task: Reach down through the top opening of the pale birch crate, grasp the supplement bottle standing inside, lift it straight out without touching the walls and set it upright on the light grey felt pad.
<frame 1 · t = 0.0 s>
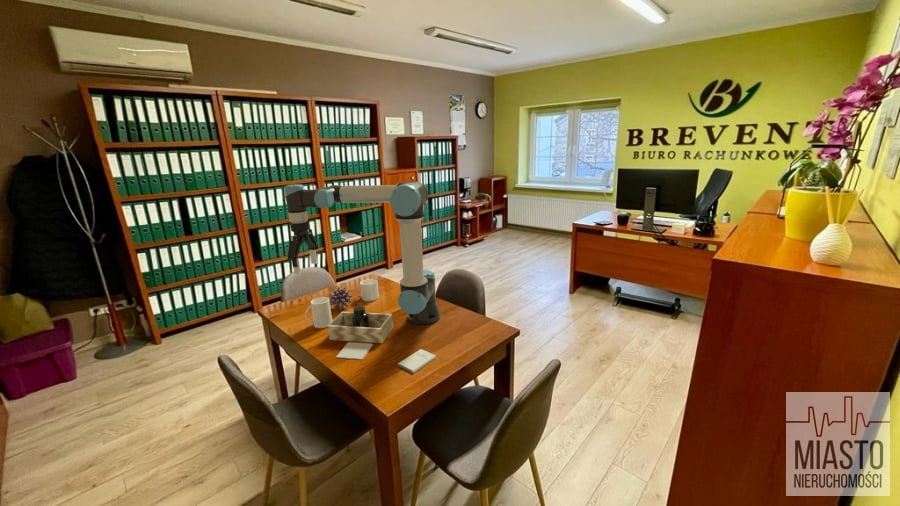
hand: (306, 268, 159), 28 cm above the table, fingers open, 13 cm apart
mug 2: (369, 297, 197), on the table
purple spiky ball: (341, 308, 184), on the table
external hard drive: (417, 363, 137), on the table
mug: (319, 325, 168), on the table
crate: (362, 333, 159), on the table
supplement bottle: (362, 333, 159), resting in crate
pad: (355, 350, 145), on the table
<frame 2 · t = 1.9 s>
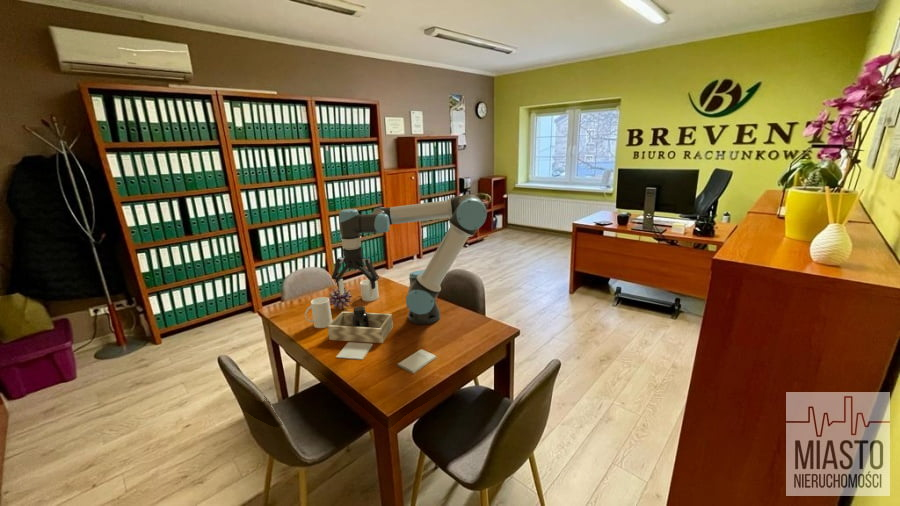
hand: (357, 294, 153), 18 cm above the table, fingers open, 13 cm apart
nothing on the table moved.
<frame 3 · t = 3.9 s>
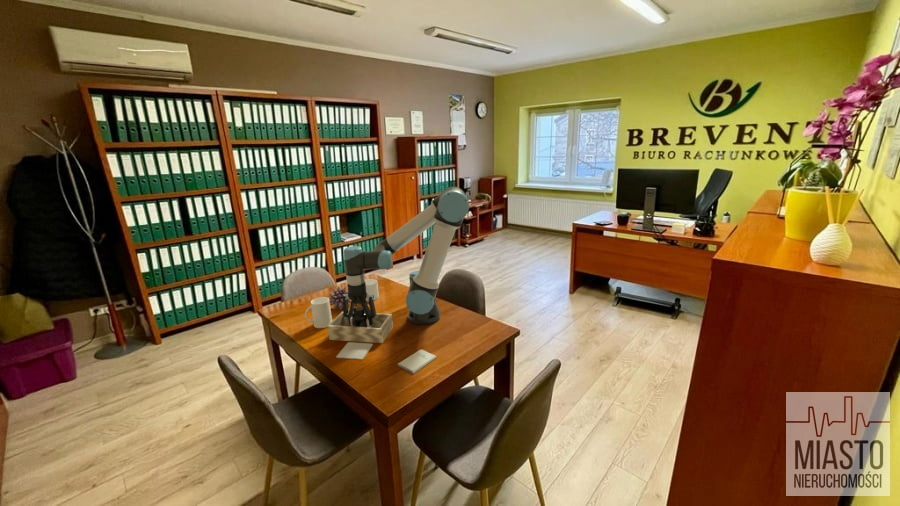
hand: (361, 331, 159), 1 cm above the table, fingers closed on supplement bottle, 7 cm apart
supplement bottle: (362, 333, 159), resting in crate, touching gripper
everything else where it was.
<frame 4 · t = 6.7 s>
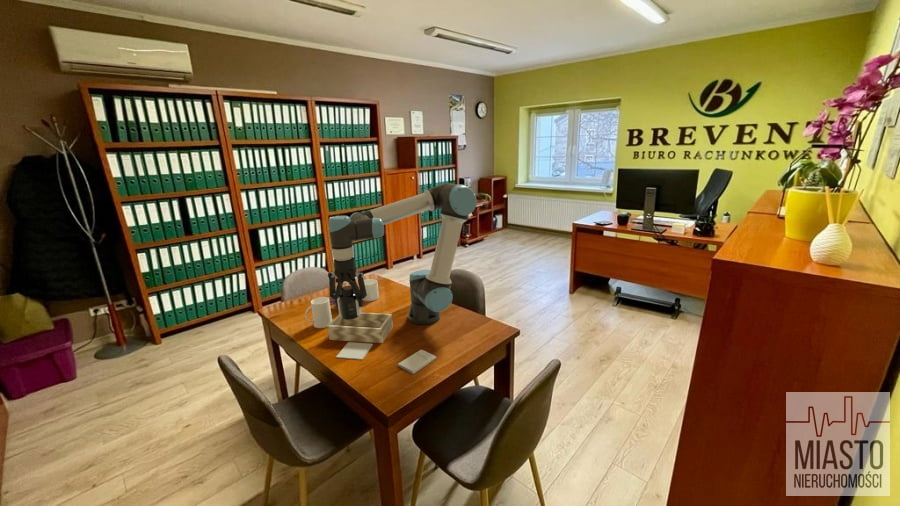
hand: (350, 313, 140), 17 cm above the table, fingers closed on supplement bottle, 7 cm apart
supplement bottle: (350, 316, 141), point 15 cm above the table, touching gripper
everything else where it was.
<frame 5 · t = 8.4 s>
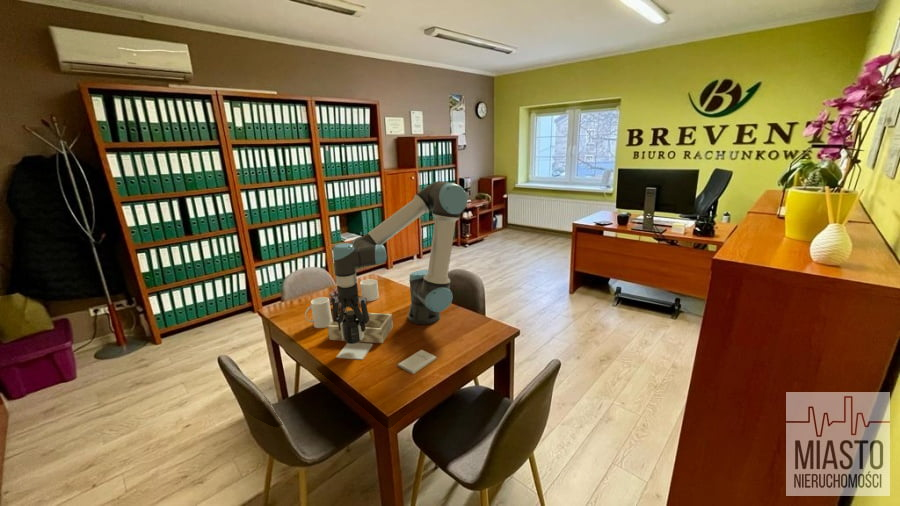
hand: (353, 337, 143), 6 cm above the table, fingers closed on supplement bottle, 7 cm apart
supplement bottle: (353, 340, 144), point 5 cm above the table, touching gripper
everything else where it was.
when the fingers open (2 cm above the table, at t = 9.6 s): supplement bottle stays where it is, resting on pad.
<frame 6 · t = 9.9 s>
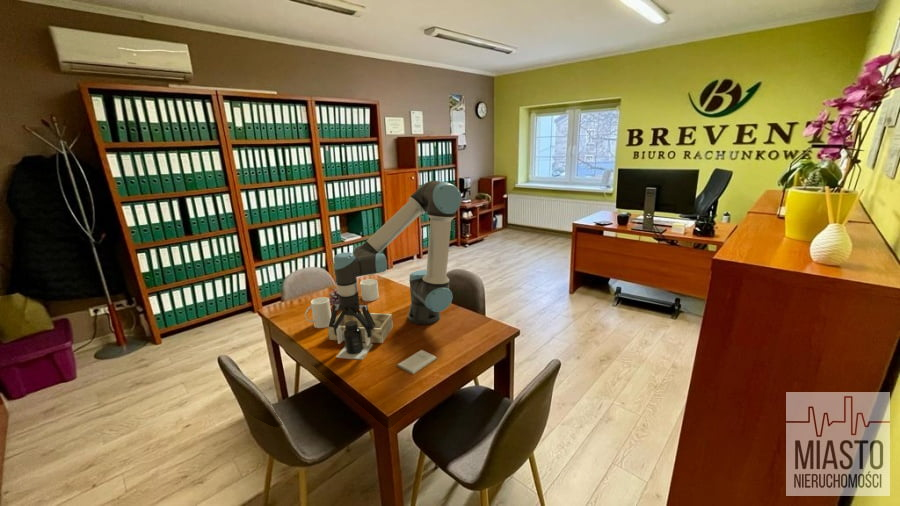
hand: (354, 343, 144), 4 cm above the table, fingers open, 11 cm apart
supplement bottle: (354, 350, 145), resting on pad
everything else where it was.
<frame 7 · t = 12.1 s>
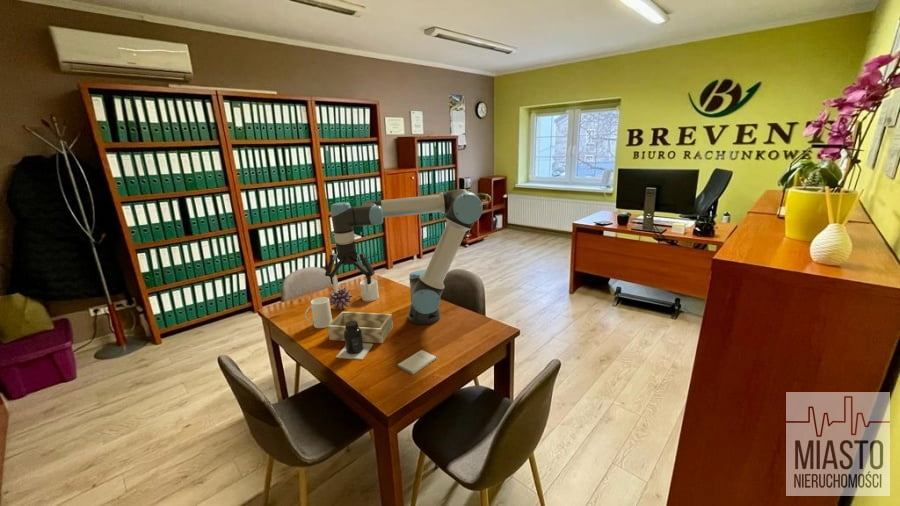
hand: (352, 291, 149), 22 cm above the table, fingers open, 13 cm apart
nothing on the table moved.
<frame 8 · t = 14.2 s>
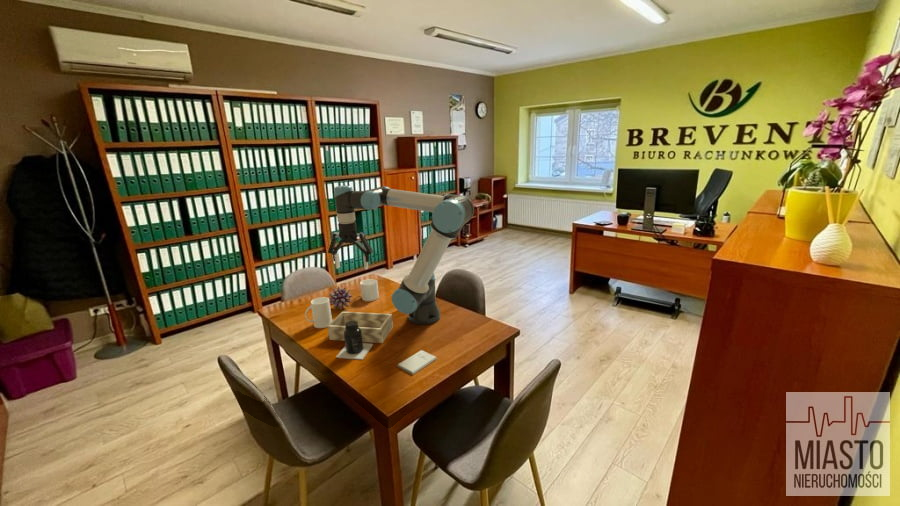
hand: (352, 268, 162), 27 cm above the table, fingers open, 13 cm apart
nothing on the table moved.
at the end: supplement bottle 0.1 cm from the pad (horizontally); supplement bottle tilted 0°; supplement bottle resting on pad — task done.
